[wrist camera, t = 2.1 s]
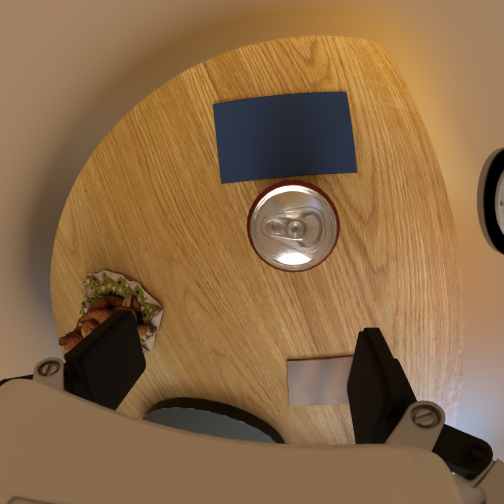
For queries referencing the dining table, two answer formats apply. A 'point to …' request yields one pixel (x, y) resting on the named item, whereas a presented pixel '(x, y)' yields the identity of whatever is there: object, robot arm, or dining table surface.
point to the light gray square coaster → (318, 380)
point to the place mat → (284, 136)
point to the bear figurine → (115, 308)
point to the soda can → (293, 226)
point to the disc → (212, 420)
